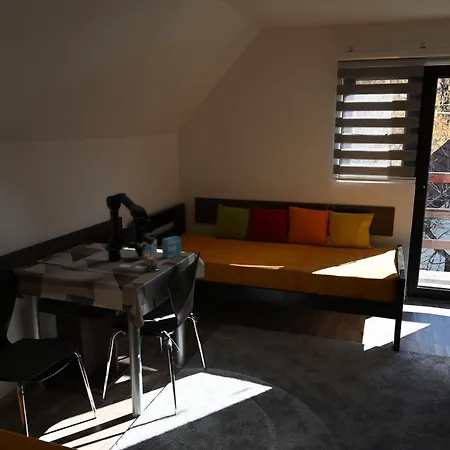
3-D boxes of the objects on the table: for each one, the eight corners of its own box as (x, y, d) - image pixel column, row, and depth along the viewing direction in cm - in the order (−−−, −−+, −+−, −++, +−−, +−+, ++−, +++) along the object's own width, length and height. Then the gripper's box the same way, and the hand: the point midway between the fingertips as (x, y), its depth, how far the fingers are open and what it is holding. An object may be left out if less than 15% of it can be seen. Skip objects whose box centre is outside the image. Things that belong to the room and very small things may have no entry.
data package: (167, 259, 295) (167, 239, 293) (162, 257, 298) (161, 238, 295) (181, 255, 304) (180, 236, 302) (176, 253, 307) (175, 235, 305)
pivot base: (146, 271, 269) (146, 269, 269) (151, 268, 275) (151, 267, 275) (156, 272, 268) (156, 270, 267) (161, 269, 273) (161, 267, 273)
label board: (112, 270, 272) (112, 267, 272) (123, 264, 283) (122, 262, 283) (143, 273, 267) (143, 270, 266) (152, 267, 278) (152, 264, 278)
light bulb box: (146, 259, 294) (145, 242, 292) (138, 258, 297) (137, 241, 295) (157, 255, 303) (157, 238, 301) (149, 254, 306) (148, 237, 304)
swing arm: (157, 268, 270) (157, 260, 269) (151, 269, 269) (151, 261, 268) (147, 259, 289) (147, 251, 288) (141, 260, 287) (141, 252, 286)
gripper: (145, 234, 258) (146, 262, 261) (159, 227, 275) (160, 254, 279) (126, 233, 261) (127, 261, 264) (141, 226, 279) (142, 253, 282)
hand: (140, 257), depth 272 cm, fingers closed
